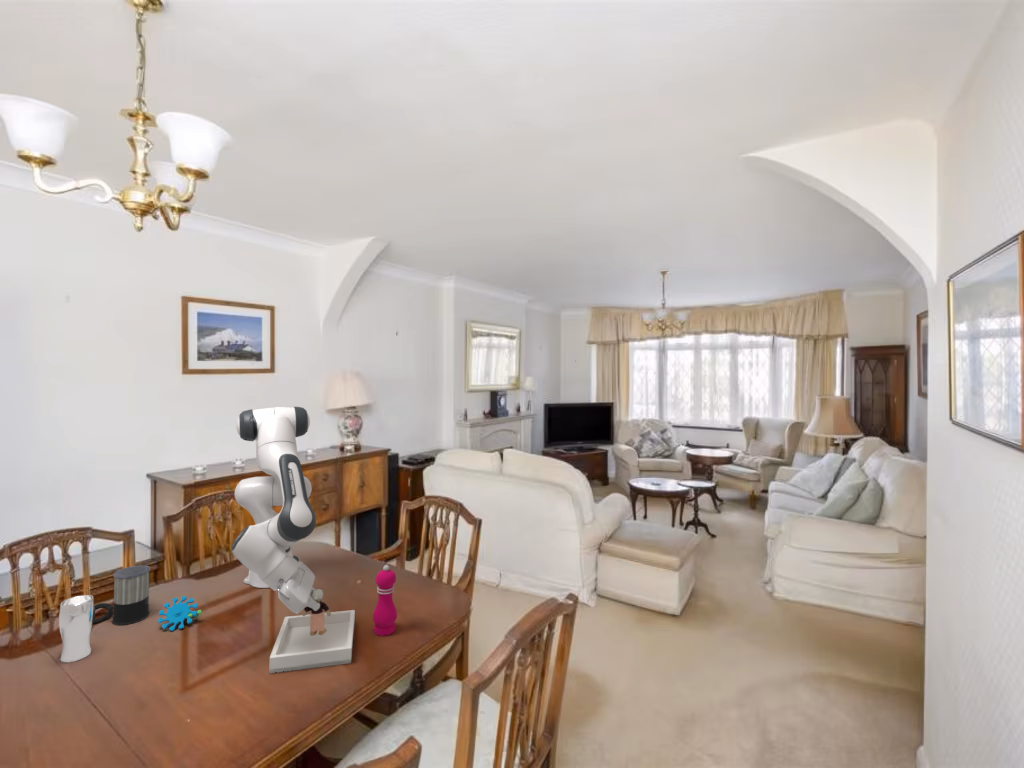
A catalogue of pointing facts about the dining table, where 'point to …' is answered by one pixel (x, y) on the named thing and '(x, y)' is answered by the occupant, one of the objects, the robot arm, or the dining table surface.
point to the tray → (313, 643)
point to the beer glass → (76, 627)
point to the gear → (179, 613)
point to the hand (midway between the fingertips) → (319, 604)
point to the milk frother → (128, 596)
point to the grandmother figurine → (317, 614)
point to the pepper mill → (385, 603)
